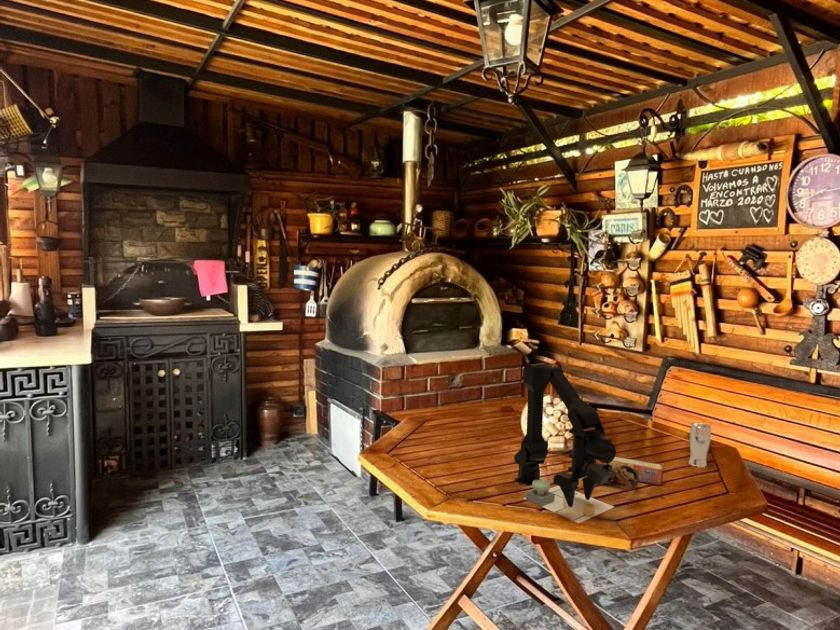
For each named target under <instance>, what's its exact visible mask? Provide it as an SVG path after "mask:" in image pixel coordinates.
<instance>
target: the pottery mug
mask: <svg viewBox="0 0 840 630" xmlns="http://www.w3.org/2000/svg"><path fill="white" fill-rule="evenodd" d="M624 468H625V469H626V472H629V473H633V475H634V479H636V480H629V479H628V478H627V477H626V476H624V474H623V473H622V471H621V469H624ZM616 474H617V475H616ZM619 480H620V481H621V482H622V483H624V484H625V488H624V489H623V490H624V492H631V491H632V490H635V489H636V488H637V487H638V484H639V476H638V474H637V472H636V471H635V470H634V469H633V468H631V467H629V466H627V465H620V466H619V467H615V468H613V469H612V477H610V478H609V479H608V481H607V483H606V485H608V486H611V484H612V481H613V482H618V481H619ZM630 481H631V482H630Z"/></svg>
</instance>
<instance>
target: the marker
mask: <svg viewBox="0 0 840 630" xmlns="http://www.w3.org/2000/svg"><path fill="white" fill-rule="evenodd" d="M563 506H564V507H566V508H569V509H571V510H573V511H576V512H578V513H580V514H585V515H587V516H591V515H593V514H595V505H593V504H590V502H588V501H586V500H583V499H581V498H578V497H576V496H574V501H573V506H572V507H569V506H568V504H567V501H566V499H565V497H564V496H563Z"/></svg>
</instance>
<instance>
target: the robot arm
mask: <svg viewBox="0 0 840 630" xmlns="http://www.w3.org/2000/svg"><path fill="white" fill-rule="evenodd" d="M522 374H523V375H522V377H523V379H522V380H523V383H524V386H525V388H526V389H527V413H526V414H527V417H526V434H525V436H524V437H523V439H522V440H521V442H520V443H521V444H520V450H518V452H516V453H515V454H514V456H513V459H514V463H515V464H517V465H518V473H517V477H515V478H514V481H517V482H519V483H520V484H524V485H526V486H531V485H532V482H533V481H534V480H541V479H540V478H541V470H540V465H541V464H542V465H544V463H545V461H546V458H547V456H548V454H549V442H548V441H547V440H546V439H545V438H544V436H543V421H544V420H543V417H544V396H545V395H544V394H545V390H546V389H547V387H548V386H549V384H550V385H551V386H552V388H553V390H554V391H555V392H556V394H557V395H558V397H559V398H560V400H561V402H562V403H563V405H564V406H565V408H566V410H567V414H566V415H567V418H568V421H569V422H570V425H571V426H572V428H570V429H569V430H568V433H570V434H571V435H572V437H573V439H572V451H571V452H570V453H569V454H568V457H569V458H570V459H571V465H570V466H569V467H568V468H567V471H568V472H571V473H568V472H565V471H562V472H559V473H556V474H555V475H554V476H553V484H554V485H555V486H560V488H561V490H562V492H563V494H564V497H565V499H566V501H567V504H568V506H569V507H572V506H573V501H574V495H575V491H576V492H577V490H579V489H580V487H579V485H580V484H579V482H580V481H579V480H582V487H583V494H584V495H585V499H586V500H589V499H590V497H591V498H592V494H593V493H594V490H595V487H596V486H599V487H600V486H603V485H604V484H607V481H608V479H609V478H610V477H612V466H611V465H610V464H609V463H610V462H612V461H613V460H614V458H615V457H617V456H616V455H617V449H616V446H615V445H614V444H613V443H612V439H611V438H609V437H605V436H606V432H605V428H604V426H603V424H602V421H601V419H600V416H599V413H598V411H597V410H596V409H595V408H594V407H593V406H592V405H591V404H589V403H588V402H586V401H584V400H583V399H582V398H581V397H580V396H579V394H578V393H577V391H576V390H575V388H574V386H572V383H570V381H569V379H568V378H567V376H566V375H565V374H564V370H563V368H562V367H559V366H548V365H547V364H546V363H532V364H531V363H530V364H526V365H525V366H524V367H523V370H522ZM598 460H599V461H601V462H603V463H606V464H605V465H602V464H598V462H597V461H598Z"/></svg>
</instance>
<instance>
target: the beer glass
mask: <svg viewBox="0 0 840 630" xmlns="http://www.w3.org/2000/svg"><path fill="white" fill-rule="evenodd" d="M711 436H712V426H711V425H710V424H708V423H704V422H692V423H691V425H690V431H689V447H690V448H689V449H690V457H689V460H688V464H689V465H690V466H692V467H695V466H697V467H696V468H706V467H707V464H708V463H707V455H708V451H709V449H710V444H711V438H712V437H711ZM705 466H706V467H705Z"/></svg>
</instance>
